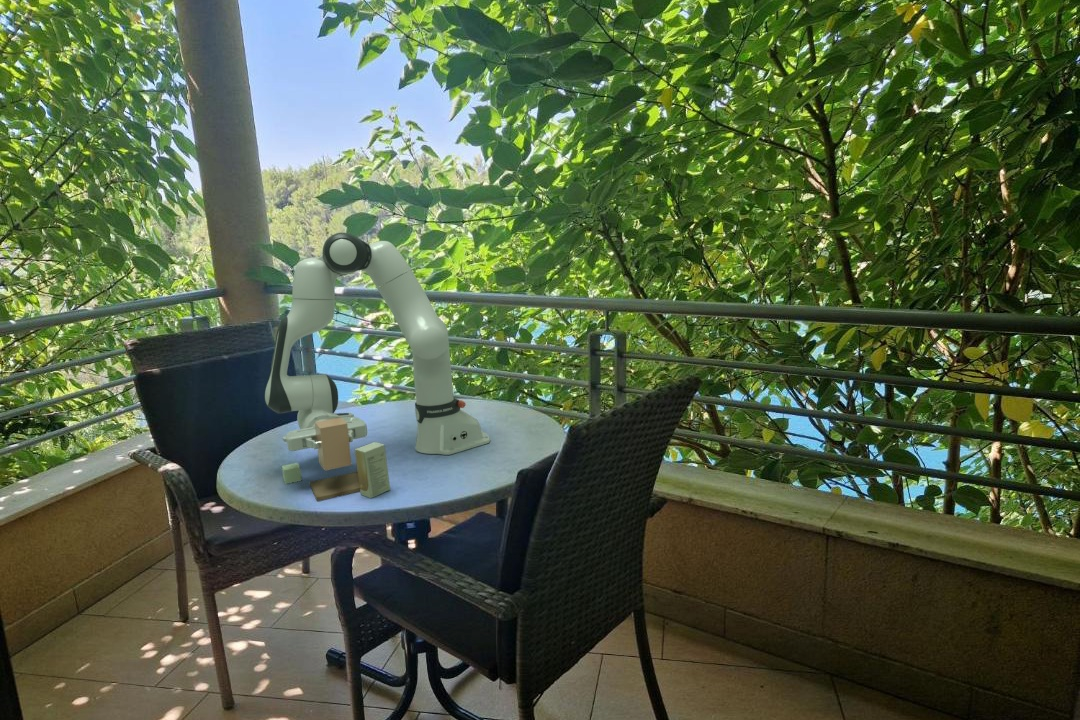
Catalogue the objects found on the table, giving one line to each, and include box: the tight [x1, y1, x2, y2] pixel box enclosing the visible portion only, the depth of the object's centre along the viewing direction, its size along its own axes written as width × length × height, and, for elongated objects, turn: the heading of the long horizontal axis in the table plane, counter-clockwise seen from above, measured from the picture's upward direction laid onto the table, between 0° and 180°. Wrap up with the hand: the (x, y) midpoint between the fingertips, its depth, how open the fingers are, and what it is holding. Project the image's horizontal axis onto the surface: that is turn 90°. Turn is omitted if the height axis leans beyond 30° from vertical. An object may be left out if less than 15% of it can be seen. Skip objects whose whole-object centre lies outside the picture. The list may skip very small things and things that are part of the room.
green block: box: [281, 462, 302, 485], centre depth 167 cm, size 4×4×4 cm
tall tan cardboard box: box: [315, 418, 352, 471], centre depth 158 cm, size 7×7×11 cm
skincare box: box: [354, 441, 391, 499], centre depth 155 cm, size 6×4×12 cm
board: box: [309, 470, 361, 502], centre depth 161 cm, size 13×12×1 cm
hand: (333, 442), depth 158 cm, fingers closed on tall tan cardboard box, 7 cm apart
